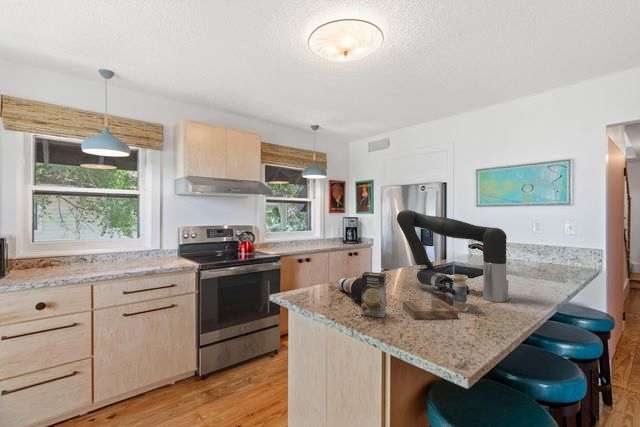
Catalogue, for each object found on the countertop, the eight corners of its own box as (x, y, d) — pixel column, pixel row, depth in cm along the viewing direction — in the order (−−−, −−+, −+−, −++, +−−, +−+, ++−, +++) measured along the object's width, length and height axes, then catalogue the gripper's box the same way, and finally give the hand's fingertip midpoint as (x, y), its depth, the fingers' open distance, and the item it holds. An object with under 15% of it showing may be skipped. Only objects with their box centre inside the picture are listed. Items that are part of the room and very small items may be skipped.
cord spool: (462, 307, 128) (462, 274, 128) (470, 311, 122) (470, 277, 122) (448, 307, 128) (448, 274, 128) (456, 312, 122) (456, 277, 122)
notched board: (441, 307, 128) (442, 300, 128) (457, 318, 115) (457, 310, 115) (402, 308, 126) (402, 301, 126) (414, 319, 114) (414, 311, 113)
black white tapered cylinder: (343, 295, 162) (350, 277, 164) (376, 307, 130) (384, 285, 132) (327, 288, 159) (335, 270, 161) (357, 298, 127) (366, 276, 130)
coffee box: (360, 315, 118) (360, 274, 118) (363, 310, 124) (363, 271, 124) (384, 317, 115) (384, 276, 115) (386, 312, 121) (386, 272, 121)
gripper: (427, 275, 140) (444, 283, 123) (457, 274, 141) (478, 283, 124) (427, 291, 140) (444, 302, 123) (457, 290, 141) (478, 301, 124)
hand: (461, 292), depth 123 cm, fingers closed on cord spool, 5 cm apart
